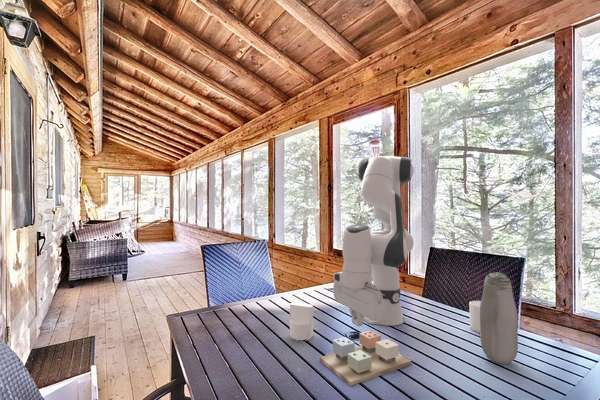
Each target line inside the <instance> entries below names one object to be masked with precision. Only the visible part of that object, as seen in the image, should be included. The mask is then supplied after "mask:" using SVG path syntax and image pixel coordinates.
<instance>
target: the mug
mask: <svg viewBox="0 0 600 400" xmlns="http://www.w3.org/2000/svg"><path fill="white" fill-rule="evenodd" d="M480 304H481V300H472V301H469V303H468V306H469V307H468V308H469V327H470V330H472V331H473V332H476V333H478V334H479V333H480Z"/></svg>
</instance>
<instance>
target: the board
mask: <svg viewBox="0 0 600 400" xmlns="http://www.w3.org/2000/svg"><path fill="white" fill-rule="evenodd" d="M359 350H362V351H363V352H365V353H366V354H368V355H369V356H371V357H372V369H369V370H366V371H363V372H360V373H357V372H356V371H355V370H353V369H352V368H351V367H349V366H348V356H345V357H341V356H339V355H338V354H336V353H335V352H333V353H330V354H326V355H323V356H320V357H319V361H320V362H321V363H322V364H324V366H326V367H327V368H328V369H329V370H331V372H333V373H334V374H335V375H336V376H338V377H339V378H340V379H341V380H343V381H344V382H345V384H348V385H349V386H350V387H352V386H355V385H357V384H361V383H362V382H366V381H368V380H372V379H374V378H377V377H380V376H383V375H386V374H389V373H392V372H395V371H397V370H399V369H404V368H405V367H409V366H411V365H413V362H412V361H413V360H412V359H410V358H408V357H406V356H404V355H402V354H400V353H399V356H398V357H395V358H392V359H389V360H386V359H384V358H383V357H381V356H379V355H378V354H376V349H375V348H372V349H368V348H366V347H365V346H363V345H361V344H360V345H357V346H355V351H359Z"/></svg>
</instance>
